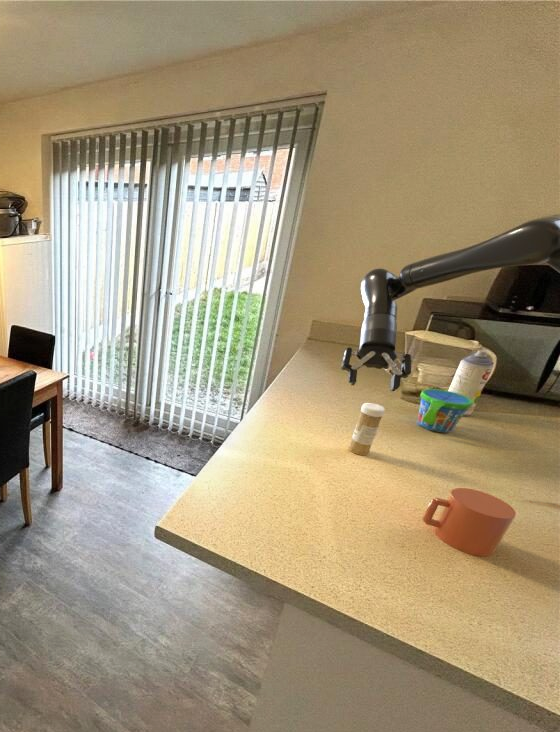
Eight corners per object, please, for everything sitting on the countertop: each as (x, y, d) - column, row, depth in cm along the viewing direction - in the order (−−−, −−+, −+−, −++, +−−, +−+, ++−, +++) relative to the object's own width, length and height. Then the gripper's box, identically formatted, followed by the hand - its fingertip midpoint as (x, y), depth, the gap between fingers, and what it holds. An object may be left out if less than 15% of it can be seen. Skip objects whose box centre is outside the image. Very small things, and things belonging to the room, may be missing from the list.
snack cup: (426, 414, 122) (438, 384, 118) (470, 429, 113) (485, 397, 109) (397, 425, 116) (409, 394, 112) (441, 442, 107) (456, 409, 103)
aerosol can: (470, 418, 119) (499, 356, 111) (439, 411, 123) (465, 351, 116) (471, 411, 123) (499, 351, 115) (442, 404, 128) (466, 346, 120)
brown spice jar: (347, 444, 107) (362, 400, 102) (368, 449, 105) (384, 404, 99) (347, 452, 104) (363, 407, 98) (369, 458, 101) (386, 411, 96)
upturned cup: (483, 532, 77) (503, 496, 74) (502, 563, 71) (525, 524, 67) (413, 514, 82) (428, 479, 79) (424, 541, 75) (442, 504, 72)
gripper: (350, 324, 108) (344, 376, 103) (417, 330, 101) (414, 386, 97) (343, 337, 114) (336, 387, 109) (405, 344, 107) (401, 397, 103)
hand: (373, 387), depth 103 cm, fingers open, 8 cm apart
